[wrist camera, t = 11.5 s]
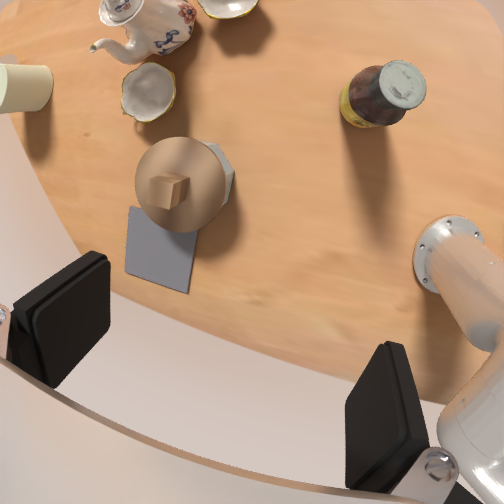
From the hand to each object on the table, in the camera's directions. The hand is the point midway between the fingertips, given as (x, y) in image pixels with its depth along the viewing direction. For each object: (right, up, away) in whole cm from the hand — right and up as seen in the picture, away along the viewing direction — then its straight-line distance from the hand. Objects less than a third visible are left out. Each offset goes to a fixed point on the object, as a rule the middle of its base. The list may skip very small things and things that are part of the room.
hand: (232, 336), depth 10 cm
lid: (-9, +11, +30) cm, 34 cm away
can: (-40, +33, +35) cm, 62 cm away
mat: (-14, +3, +41) cm, 44 cm away
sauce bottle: (+15, +22, +28) cm, 39 cm away
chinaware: (-9, +34, +29) cm, 45 cm away
